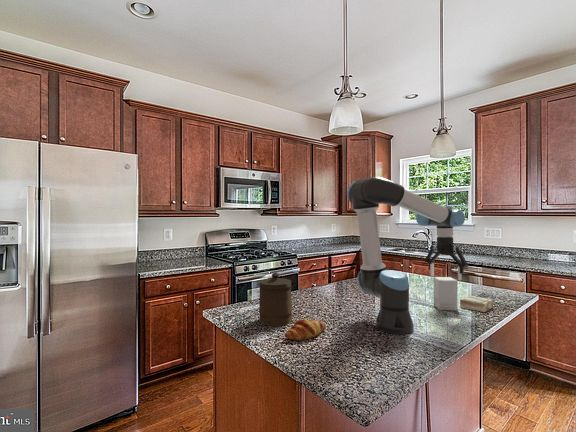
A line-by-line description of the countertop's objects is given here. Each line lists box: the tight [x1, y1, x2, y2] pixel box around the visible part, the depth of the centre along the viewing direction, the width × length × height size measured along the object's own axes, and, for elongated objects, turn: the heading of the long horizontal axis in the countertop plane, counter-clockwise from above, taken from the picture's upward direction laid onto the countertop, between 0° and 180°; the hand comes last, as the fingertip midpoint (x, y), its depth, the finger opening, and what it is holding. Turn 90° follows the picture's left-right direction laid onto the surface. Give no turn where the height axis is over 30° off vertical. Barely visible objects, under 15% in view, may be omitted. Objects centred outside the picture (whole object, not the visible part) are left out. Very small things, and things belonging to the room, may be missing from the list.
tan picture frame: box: [459, 295, 493, 313], centre depth 159 cm, size 11×11×4 cm
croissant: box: [284, 318, 327, 341], centre depth 126 cm, size 21×10×8 cm, turn 128°
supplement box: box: [433, 276, 459, 311], centre depth 159 cm, size 9×9×15 cm
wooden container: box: [258, 272, 293, 327], centre depth 143 cm, size 15×15×22 cm
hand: (445, 278), depth 159 cm, fingers open, 13 cm apart
